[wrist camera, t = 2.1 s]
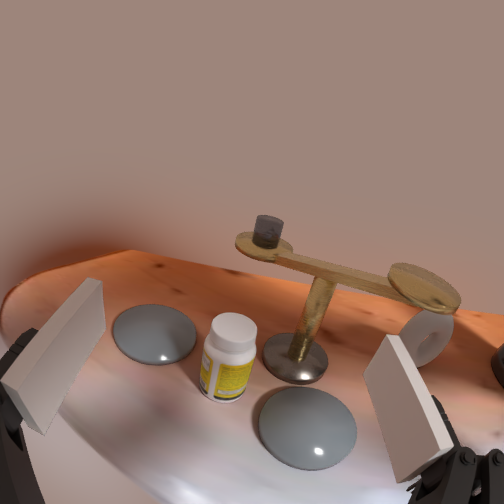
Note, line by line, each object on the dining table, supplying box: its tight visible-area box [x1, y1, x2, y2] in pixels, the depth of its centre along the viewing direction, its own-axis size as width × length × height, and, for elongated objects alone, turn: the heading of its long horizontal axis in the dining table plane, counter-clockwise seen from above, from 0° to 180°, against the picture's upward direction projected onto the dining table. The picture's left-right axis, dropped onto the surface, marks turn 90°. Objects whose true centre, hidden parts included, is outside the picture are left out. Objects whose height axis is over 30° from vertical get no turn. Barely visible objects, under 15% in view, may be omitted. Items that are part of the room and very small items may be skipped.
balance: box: [235, 215, 461, 385], centre depth 30 cm, size 8×26×16 cm, turn 38°
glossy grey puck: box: [258, 387, 357, 471], centre depth 24 cm, size 10×10×1 cm
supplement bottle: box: [199, 313, 257, 403], centre depth 26 cm, size 5×5×8 cm
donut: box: [398, 310, 454, 368], centre depth 33 cm, size 10×4×10 cm, turn 96°
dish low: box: [113, 304, 196, 365], centre depth 32 cm, size 10×10×1 cm
